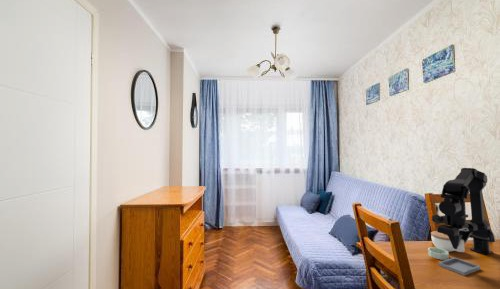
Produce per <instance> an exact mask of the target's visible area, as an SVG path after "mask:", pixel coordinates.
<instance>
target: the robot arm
mask: <svg viewBox="0 0 500 289" xmlns="http://www.w3.org/2000/svg"><path fill="white" fill-rule="evenodd" d="M487 183H488V176H487V174H485V172H484V171H483V172H482V171H480V170H478V169H476V168H474V167H462V168H461V169H460V172H458V175H457V176H455V178H454V179H450V180H448V181H446V182H445V183H444V184H443V187H442V190H441V195H440V198H442V199H443V201H440V202H439V204H438V209H439V211H440V212H441V213H442V215H439V214H433V215H431V221H432V222H434V224H435V225H438V226H436V231H437V232H439V233H443V234H446V235H447V236H448V237H449V239H450V241H451V244H452V246H453V248H454V249H457V248H458V246H459V243H460V240H461V239H462V240H464V246H465V244H466V243H467V241H468V240H469V239H470V238H471V239H472V242H473V243H472V245H473V247H471V248H469V250H470V251H473V252H477V253H480V254H483V255H491V254H494V251H493V250H490V243H496V239H495V234H494V232H493V230H492V229H491V225H490V224H489V223H488V221H487V220H486V219H485V211H484V210H485V209H484V198H483V197H484V196H483V190H484V188H485V187H486V186H487ZM468 197H469V201H470V202H469V203H470V211H471V212H470V213H471V220H470V221H467V218H469V214H466V210H467V209H466V200H467V199H468ZM440 224H441V225H440Z"/></svg>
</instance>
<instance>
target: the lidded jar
mask: <svg viewBox="0 0 500 289" xmlns="http://www.w3.org/2000/svg"><path fill="white" fill-rule="evenodd" d="M430 235H431V236H430V237H431V242H432V244H433V246H434V247H435V248H440V249H443V250H446V251H448V252H455V251H454V250H452V244H451V241H450V239H449V237H448V236H447V235H446V234H443V233H439V232H437V230H435V231H431V232H430Z"/></svg>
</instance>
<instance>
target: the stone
mask: <svg viewBox="0 0 500 289" xmlns="http://www.w3.org/2000/svg"><path fill="white" fill-rule="evenodd" d="M452 250H454V251H453V252H458V253H465V250H466V248H465V245H464V240H462V239H461V240H460V243H459V246H458V248H457V249H454V248H453V246H452Z"/></svg>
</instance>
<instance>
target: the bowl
mask: <svg viewBox="0 0 500 289" xmlns="http://www.w3.org/2000/svg"><path fill="white" fill-rule="evenodd" d="M427 255H428V256H429V257H430V258H433V259H437V260H442V261H445V260H448V259H450V254H449V252H448V251H446V250H443V249H440V248H437V247H436V246H434V247H432V246H431V247H428V248H427Z"/></svg>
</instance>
